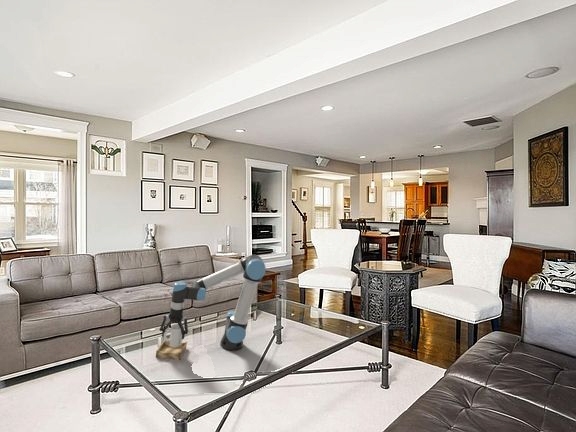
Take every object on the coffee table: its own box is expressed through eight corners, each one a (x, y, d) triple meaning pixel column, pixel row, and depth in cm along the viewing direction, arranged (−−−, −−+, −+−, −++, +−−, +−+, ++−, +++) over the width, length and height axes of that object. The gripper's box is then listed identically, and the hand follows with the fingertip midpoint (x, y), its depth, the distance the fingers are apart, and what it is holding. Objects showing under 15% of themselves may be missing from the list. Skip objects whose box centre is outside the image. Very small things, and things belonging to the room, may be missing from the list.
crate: (185, 348, 220) (186, 342, 220) (180, 360, 206) (181, 353, 205) (163, 345, 219) (163, 339, 219) (155, 357, 205) (156, 350, 204)
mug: (179, 342, 217) (182, 324, 216) (181, 347, 211) (183, 328, 210) (162, 343, 213) (165, 324, 212) (163, 348, 207) (165, 329, 205)
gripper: (196, 307, 214) (191, 342, 216) (160, 303, 213) (156, 337, 215) (194, 312, 207) (189, 348, 209) (156, 307, 205) (152, 343, 207)
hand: (172, 342), depth 212 cm, fingers closed on mug, 9 cm apart
